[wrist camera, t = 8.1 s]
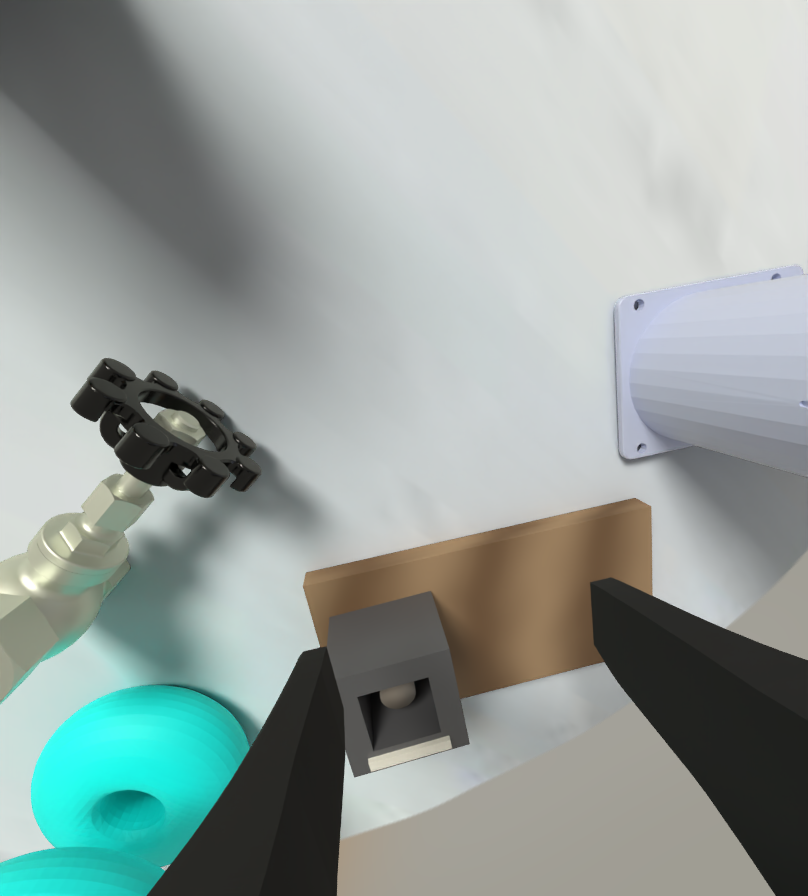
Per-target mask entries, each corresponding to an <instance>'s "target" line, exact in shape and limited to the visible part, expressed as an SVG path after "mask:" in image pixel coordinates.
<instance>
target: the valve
mask: <svg viewBox="0 0 808 896" xmlns="http://www.w3.org/2000/svg"><path fill="white" fill-rule="evenodd" d="M177 390H178V385H177V383H176V382H175V381H174V380H173V379H172V378H170V377H169V376H167V375H166V374H164V373H162V372H159V371H151V372H150V373H149V375H148V376H147V377H146V378H145V380H144V381H143V380H141V379H139V378H137V377H136V375H135V373H134V372H133V371H132V370H131V369H130V368H129V367H127V366H126V365H124V364H123V363H121V362H119V361H117V360H114V359H110V358H104V359H102V360H101V362H100V363H99V364H98V365H97V367H96V368H95V369H94V371H93V372H92V373H91V374H90V376H89V377H88V378H87V381H86V382H85V384H84V385H83V386H82V388H81V389H80V390H79V391H78V393H77V394H76V395H75V397H74V398H73V399H72V400H71V403H70V404H71V407H72V408H73V410H74V411H75V412H76V413H78V414H79V415H81V416H82V417H84V418H86V419H88V420H90V421H93V422H96V421H97V420H98V419H99V418H100V417H101V419H100V433H101V436H102V437H103V439H104V441H105V442H106V443H107V444H108V445H109V446H111V447H112V448H113V449H114V452H115V454H116V456H117V457H118V458H119V459H120V463H121V465H122V466H123V468H124V469H125V470H126V472H125V473H124V475H122V474H114V475H111V476H109V477H108V478H106V479H104V480H103V481H101V483H100V484H99V485H98V486H97V488H96V489H95V490H94V491H93V492H92V494H91V495H90V496H89V497H88V499H87V500H86V501H85V502H84V504H83V505H82V506H81V507H82V509H83V510H84V512H82V513H65V514H60V515H57V516H55V517H52V518H51V519H49V520H48V521H47V522H46V523H45V524H44V525H43V526H42V528H41V529H40V530H39V531H38V533H37V534H36V535H35V536H34V538H33V539H32V540H31V542H30V543H29V545H28V549H27V552H26V553H22V554H19V555H16V556H13V557H11V558H8V559H6V560H4V561H2V562H0V704H1V703H2V702H3V701H4V700H5V699H6V698H7V697H8V696H9V695H10V694H11V693H12V692H13V691H14V690H15V689H16V688H17V687H18V686H19V685H20V684H21V683H22V682H23V681H24V680H25V679H26V678H27V677H28V676H29V675H30V674H31V673H32V671H33V670H34V669H35V668H36V667H37V665H38V664H39V663H40V662H42V661H44V660H47V659H49V658H51V657H53V656H55V655H57V654H59V653H60V652H62V651H63V650H65V649H66V648H68V647H69V646H71V645H72V644H73V643H74V642H76V641H77V640H78V639H79V638H80V637H81V636H82V635H83V634H84V633H85V632H86V631H87V629H88V628H89V627H90V626H91V624H92V623H93V621H94V620H95V618H96V616H97V614H98V612H99V610H100V607H101V604H102V601H103V600H104V599H105V598H106V597H107V596H108V595H109V594H110V592H111V591H112V590H113V589H114V588H115V586H116V585H117V584H118V583H119V582H120V581H121V579H122V578H123V577H124V576H125V575H126V573H127V572H128V571H129V570H130V569H131V568H130V565H129V563H128V562H127V560H126V558H127V556H128V554H129V544H128V541H127V539H126V537H125V536H124V535H125V534H124V531H125V530H126V529H127V528H129V527H130V526H131V525H132V524H134V523H135V522H136V521H137V520H138V519H139V517H140V516H141V515H142V514H143V513H144V511H145V510H146V509H147V508H148V507H149V505H150V504H151V503H152V502H153V501H154V496H153V494H152V493H151V491H150V490H149V488H150V487H151V486H152V485H153V486H160V487H161V486H169V487H171V488H172V489H175V490H180V491H191V492H192V493H194V494H196V495H198V496H200V497H204V498H210V497H212V496H214V494H215V493H216V492H217V491H218V490H219V489H220V487H221V486H222V485H223V484H224V483H225V481H226V480H227V479H228V478H229V476H230V472H231V473H232V474H233V475H234V476H235V477H237V478H236V479H235V481H234V482H233V483H232V484H231V485H230V487H231V488H233V489H235V490H237V491H240V492H246V491H247V490H248V489H249V488H250V487H251V486H252V484H253V483H254V482H255V481H256V480H257V479H258V477H259V476H260V475H261V473H262V470H261V468H260V466H259V465H258V464H257V463H256V462H255V461H253V460H252V459H250V458H249V457H250V455H251V454H252V453H253V452H254V451H255V450H256V444H255V443H254V442H253V440H252V439H250V438H249V437H248V436H246V435H245V434H243V433H240V432H234V433H233V432H231V431H230V430H228V429H227V428H226V427H225V426H224V425H223V424H222V423H221V422H220V421H221V420H222V419H223V417H224V412H223V411H222V410H221V409H220V408H219V407H218V406H217V405H215V404H214V403H212V402H210V401H208V400H201V401H200V402H199V404H198V403H195V402H193V401H192V400H190V399H188V398H186V397H185V396H183V395H182V394H181V393H179V392H178V391H177ZM140 402H145V403H151V404H155V405H158V406H161V407H164V408H167V409H165V410H163V411H161V412H159V413H158V414H157V416H156V417H155V418H154V419H152V418H151V417H150V416H149V415H148V414H147V413H146V411H145V410H144V409H143V407H142V406H141V404H140ZM120 423H121V424H122V426H123V427H124V428H125V429H126V430H127V432H126V433H125V432H123V431H122V430H121V429H120V428H119V425H120ZM206 435H207V436H208V437H209V438H210V439H211V440H212V442H213V443H214V445H215V446H216V449H217V451H218V452H213V451H208V450H204V449H201V448H198V447H197V446H198V445H199V443H200V442H201V441H202V440H203V439H204V437H205V436H206ZM184 468H188V469H191V472H190V473H189V474H188V475H187V476H186V475H185V474H184V473H183V471H182V470H183V469H184Z"/></svg>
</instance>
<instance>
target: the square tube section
mask: <svg viewBox="0 0 808 896" xmlns="http://www.w3.org/2000/svg"><path fill="white" fill-rule="evenodd" d="M327 650H328V653H329V657H330V661H331V664H332V668H333V671H334V675H335V679H336V682H337V686H338V689H339V693H340V697H341V700H342V704H343V707H344V727H345V750H346V753H347V756H348V759H349V762H350V765H351V769H352V772H353V775H354V777H358V776H361V775H364V774H368V773H371V772H375V771H378V770H382V769H385V768H389V767H392V766H395V765H399V764H402V763H406V762H409V761H413V760H416V759H420V758H423V757H426V756H430V755H433V754H437V753H440V752H444V751H447V750H451V749H454V748H457V747H461V746H464V745H468V744H470V743H469V738H468V734H467V729H466V724H465V719H464V715H463V710H462V705H461V701H460V696H459V691H458V687H457V682H456V677H455V672H454V668H453V663H452V658H451V654H450V649H449V646H448V643H447V640H446V636H445V633H444V630H443V627H442V624H441V621H440V618H439V615H438V612H437V608H436V605H435V602H434V599H433V596H432V593H431V591H428V592H424V593H420V594H417V595H413V596H409V597H405V598H401V599H397V600H394V601H390V602H386V603H382V604H378V605H374V606H371V607H367V608H363V609H359V610H355V611H351V612H348V613H344V614H340V615H336V616H332V617H329V627H328V639H327ZM413 681H414V684H415V690H416V695H415V698H414V700H413V701H412V702H411V703H410V704H409V705H408V706H406V707H404V708H400V709H391V708H388V707H386V706H385V705H384V704H383V703H382V702H381V699H380V691H381V690H384V689H388V688H392V687H395V686H399V685H403V684H406V683H410V682H413Z"/></svg>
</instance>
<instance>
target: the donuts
mask: <svg viewBox="0 0 808 896" xmlns="http://www.w3.org/2000/svg"><path fill="white" fill-rule="evenodd" d="M249 749H250V748H249V744H248V741H247V738H246V735H245V733H244V731H243V729H242V727H241V725H240V724H239V722H238V721H237V720H236V719H235V717H234V716H233V715H232V714H231V713H230V712H229V711H228V710H227V709H226V708H224V707H223V706H222V705H220V704H219V703H218V702H216V701H214V700H213V699H211V698H209V697H207V696H205V695H203V694H201V693H198V692H196V691H193V690H190V689H186V688H180V687H175V686H168V685H148V686H138V687H132V688H126V689H122V690H119V691H116V692H113V693H110V694H107V695H105V696H103V697H101V698H98V699H97V700H95V701H93V702H91V703H89V704H87V705H86V706H84V707H82V708H81V709H80V710H78V711H77V712H76V713H74V714H73V715H72V716H71V717H70V718H68V719H67V720H66V721H65V722H64V723H63V724H62V725H61V726H60V727H59V728H58V729H57V730H56V732H55V733H54V734H53V735H52V737H51V738H50V739H49V741H48V742H47V744H46V745H45V747H44V749H43V751H42V753H41V755H40V757H39V759H38V761H37V764H36V766H35V770H34V774H33V778H32V783H31V803H32V809H33V813H34V816H35V819H36V821H37V824H38V825H39V827H40V829H41V831H42V833H43V834H44V836H45V837H46V838H47V840H48V841H49V842H50V843H51V844H52V845H53V846H54V847H55V848H54V849H47V850H41V851H36V852H32V853H29V854H25V855H21V856H18V857H15V858H13V859H10V860H7V861H4V862H2V863H0V896H147V894H148V893H149V892H150V890H151V889H152V888H153V887H154V885H155V884H156V883H157V881H158V880H159V879H160V878H161V876H162V875H163V874H164V872H165V871H164V870H163V869H162V868H160V867H162V866H166V865H169V864H171V863H172V862H173V861H174V859H175V858H176V857H177V855H178V854H179V853H180V851H181V850H182V849H183V847H184V846H185V845H186V843H187V842H188V841H189V839H190V838H191V837H192V835H193V834H194V833H195V831H196V830H197V829H198V827H199V826H200V824H201V823H202V821H203V820H204V819H205V817H206V816H207V814H208V813H209V811H210V810H211V809H212V807H213V806H214V804H215V803H216V801H217V800H218V798H219V797H220V795H221V794H222V792H223V791H224V789H225V788H226V786H227V785H228V783H229V782H230V780H231V779H232V777H233V776H234V774H235V772H236V771H237V769H238V767H239V766H240V764H241V762H242V761H243V759H244V758H245V756H246V754H247V753H248V751H249Z"/></svg>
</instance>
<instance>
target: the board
mask: <svg viewBox="0 0 808 896" xmlns="http://www.w3.org/2000/svg"><path fill="white" fill-rule="evenodd" d="M610 577H612V578H614V579H617V580H619V581H621V582H624V583H626V584H628V585H630V586H632V587H634V588H637V589H639V590H641V591H643V592H645V593H647V594H649V595H651V596H652V533H651V506H649V505H647V504H646V503H644V502H642V501H640V500H638V499H636V498H633V499H628V500H624V501H620V502H615V503H611V504H606V505H602V506H598V507H593V508H589V509H584V510H580V511H576V512H571V513H567V514H562V515H558V516H554V517H549V518H545V519H540V520H536V521H532V522H527V523H523V524H518V525H514V526H510V527H505V528H501V529H496V530H492V531H488V532H483V533H479V534H474V535H470V536H466V537H461V538H457V539H452V540H448V541H443V542H439V543H435V544H430V545H426V546H421V547H417V548H413V549H408V550H404V551H399V552H395V553H391V554H386V555H382V556H377V557H373V558H369V559H364V560H360V561H355V562H351V563H347V564H342V565H338V566H333V567H329V568H325V569H320V570H316V571H311V572H307V573H306V575H305V580H304V584H303V588H304V591H305V595H306V598H307V602H308V605H309V609H310V613H311V616H312V620H313V623H314V627H315V630H316V634H317V637H318V641H319V644H320V648H321V647H325V646H327V639H328V627H329V617H332V616H336V615H340V614H344V613H348V612H351V611H355V610H359V609H363V608H367V607H371V606H374V605H378V604H382V603H386V602H390V601H394V600H397V599H401V598H405V597H409V596H413V595H417V594H420V593H424V592H428V591H431V593H432V596H433V599H434V602H435V605H436V608H437V612H438V615H439V618H440V621H441V624H442V627H443V630H444V633H445V636H446V640H447V643H448V646H449V649H450V654H451V658H452V663H453V668H454V672H455V677H456V682H457V687H458V691H459V696H460V699H462V698H466V697H469V696H473V695H477V694H481V693H485V692H489V691H493V690H496V689H500V688H504V687H508V686H512V685H516V684H520V683H524V682H527V681H531V680H535V679H539V678H543V677H547V676H551V675H554V674H558V673H562V672H566V671H570V670H574V669H578V668H581V667H585V666H589V665H593V664H597V663H601V662H604V660H603V659H602V657H601V655H600V654H599V652H598V650H597V649H596V647H595V646H594V640H593V623H592V607H591V591H590V582H593V581H598V580H602V579H606V578H610ZM415 695H416V690H415V684H414V681H413V682H410V683H406V684H403V685H399V686H395V687H392V688H388V689H384V690H381V691H380V699H381V702H382V703H383V704H384V705H385V706H386V707H388V708H391V709H400V708H404V707H406V706H408V705H409V704H410V703H411V702H412V701H413V700H414V698H415Z"/></svg>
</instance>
